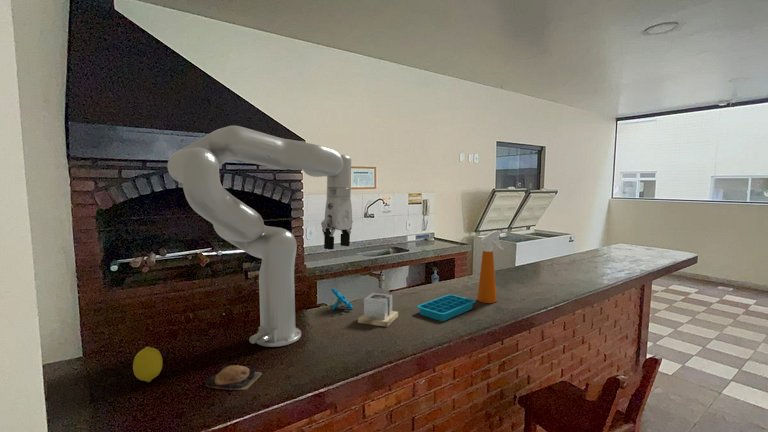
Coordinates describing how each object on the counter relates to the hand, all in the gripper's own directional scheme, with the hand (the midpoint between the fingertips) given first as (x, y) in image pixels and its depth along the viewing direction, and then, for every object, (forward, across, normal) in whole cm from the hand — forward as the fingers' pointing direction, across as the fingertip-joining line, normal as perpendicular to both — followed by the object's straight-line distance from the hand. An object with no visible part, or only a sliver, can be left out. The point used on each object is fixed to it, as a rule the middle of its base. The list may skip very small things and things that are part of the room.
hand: (337, 247), depth 120 cm
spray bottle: (+21, +42, -43) cm, 63 cm away
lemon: (+26, -50, +18) cm, 59 cm away
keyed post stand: (+23, +6, -13) cm, 27 cm away
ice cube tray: (+22, +23, -31) cm, 44 cm away
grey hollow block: (+22, +6, -13) cm, 26 cm away
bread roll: (+26, -41, +1) cm, 49 cm away
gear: (+23, +11, +4) cm, 26 cm away
